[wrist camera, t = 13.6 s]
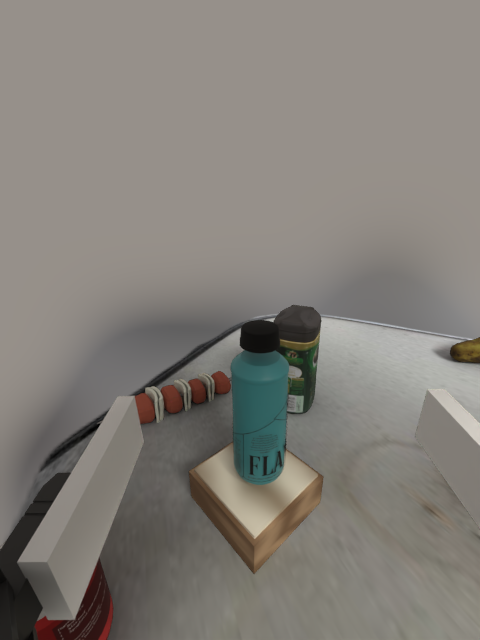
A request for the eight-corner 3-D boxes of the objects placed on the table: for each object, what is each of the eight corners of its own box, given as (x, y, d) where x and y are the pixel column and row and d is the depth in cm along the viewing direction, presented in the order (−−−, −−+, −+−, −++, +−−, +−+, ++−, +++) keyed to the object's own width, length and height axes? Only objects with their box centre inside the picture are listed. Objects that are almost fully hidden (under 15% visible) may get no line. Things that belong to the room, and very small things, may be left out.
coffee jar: (279, 381, 64) (283, 299, 57) (317, 390, 62) (325, 304, 54) (265, 409, 56) (267, 317, 49) (308, 420, 53) (317, 324, 46)
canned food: (23, 612, 29) (-16, 540, 25) (111, 569, 32) (90, 499, 28) (8, 727, 23) (-47, 657, 19) (119, 659, 26) (94, 586, 22)
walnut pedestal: (255, 448, 48) (255, 424, 46) (320, 502, 39) (323, 474, 37) (191, 496, 40) (188, 468, 38) (254, 574, 32) (254, 544, 30)
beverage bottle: (243, 503, 34) (240, 345, 26) (226, 458, 40) (220, 318, 32) (294, 486, 36) (306, 333, 28) (271, 445, 42) (275, 310, 34)
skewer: (255, 369, 62) (96, 421, 47) (254, 388, 63) (101, 444, 49) (241, 358, 66) (92, 403, 51) (241, 376, 68) (96, 425, 53)
